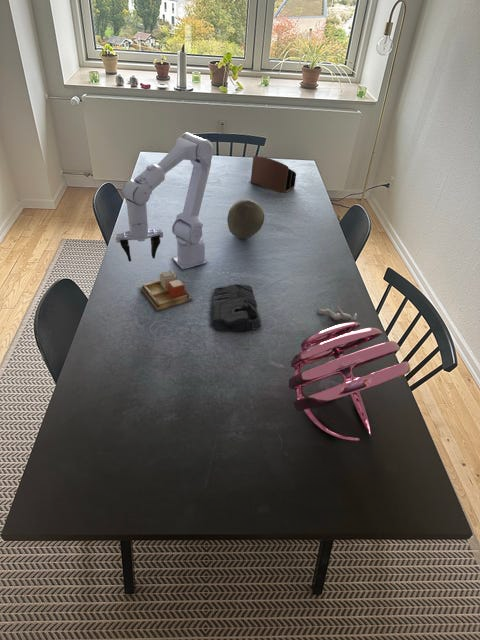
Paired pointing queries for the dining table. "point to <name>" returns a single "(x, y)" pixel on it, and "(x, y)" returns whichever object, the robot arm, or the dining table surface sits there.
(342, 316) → the soldier figure
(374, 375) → the pink slatted stand
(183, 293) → the red block with panel
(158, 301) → the divided wooden tray
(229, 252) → the dining table surface
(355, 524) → the dining table surface
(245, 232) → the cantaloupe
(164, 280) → the cream panelled block
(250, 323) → the dark slate chunk
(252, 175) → the letter holder
